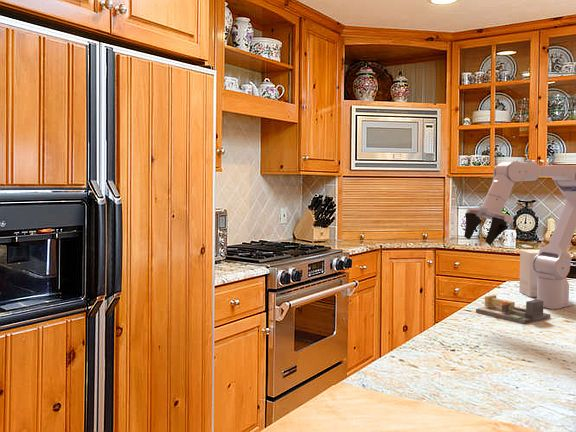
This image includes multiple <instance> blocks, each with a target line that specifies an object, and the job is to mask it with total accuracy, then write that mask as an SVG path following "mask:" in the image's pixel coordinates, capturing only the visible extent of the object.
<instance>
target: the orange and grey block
mask: <svg viewBox="0 0 576 432" xmlns="http://www.w3.org/2000/svg"><path fill="white" fill-rule="evenodd" d="M507 301H508V300H507ZM507 301H504V302H502V312H509V305H507Z"/></svg>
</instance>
